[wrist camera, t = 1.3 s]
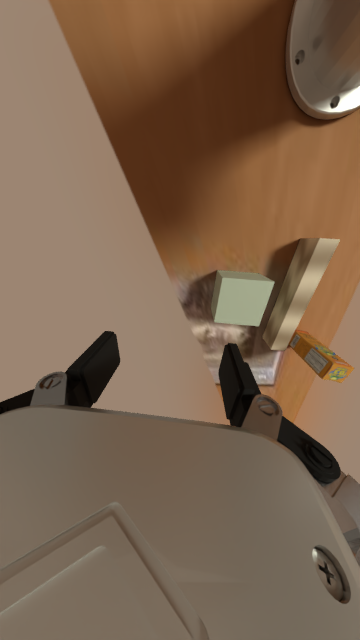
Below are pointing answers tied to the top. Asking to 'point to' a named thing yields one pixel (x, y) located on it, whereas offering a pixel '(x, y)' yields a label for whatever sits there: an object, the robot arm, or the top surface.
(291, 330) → the birch board
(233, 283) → the green block
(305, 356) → the supplement box
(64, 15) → the top surface
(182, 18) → the top surface
